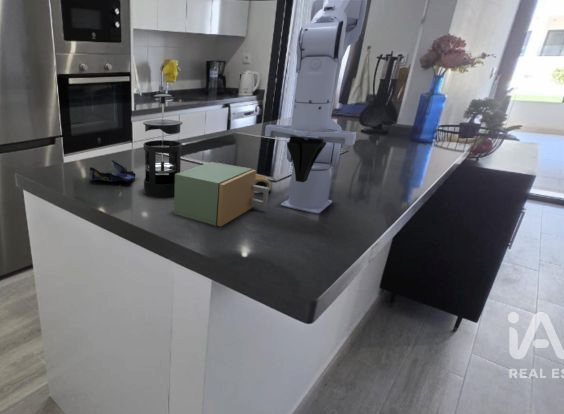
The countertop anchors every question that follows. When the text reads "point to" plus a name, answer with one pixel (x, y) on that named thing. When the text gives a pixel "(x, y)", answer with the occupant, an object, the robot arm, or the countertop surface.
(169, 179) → the french press
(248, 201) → the door
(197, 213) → the cupboard
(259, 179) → the pastry
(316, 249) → the countertop surface
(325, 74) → the robot arm
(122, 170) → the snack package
